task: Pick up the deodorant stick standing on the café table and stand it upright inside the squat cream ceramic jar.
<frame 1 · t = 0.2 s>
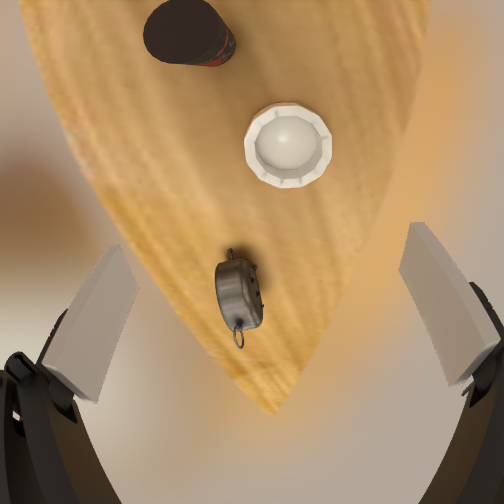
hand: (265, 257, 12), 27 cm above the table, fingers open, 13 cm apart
alarm clock: (244, 266, 48), on the table
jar: (285, 139, 35), on the table
deodorant: (211, 45, 27), on the table
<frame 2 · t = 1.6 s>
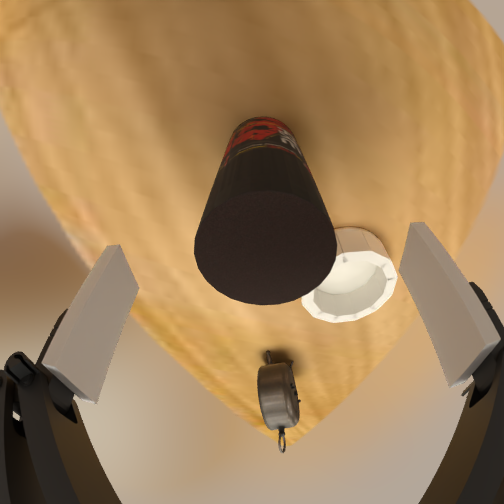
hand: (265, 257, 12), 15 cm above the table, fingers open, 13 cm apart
alarm clock: (280, 361, 45), on the table
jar: (342, 265, 31), on the table
deodorant: (262, 148, 23), on the table
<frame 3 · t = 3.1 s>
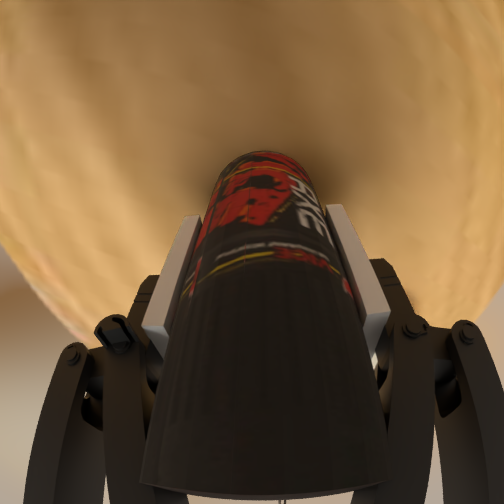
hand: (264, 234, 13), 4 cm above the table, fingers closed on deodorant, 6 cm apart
deodorant: (263, 196, 17), on the table, touching gripper
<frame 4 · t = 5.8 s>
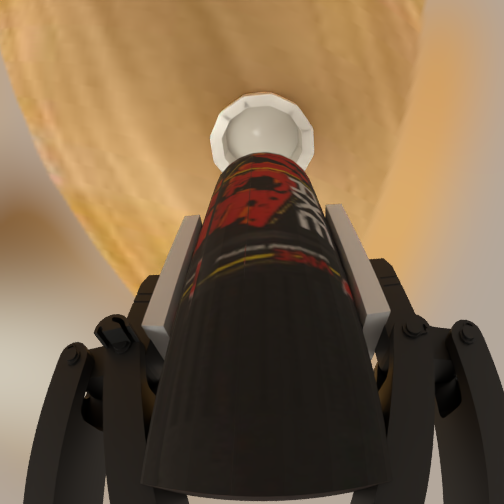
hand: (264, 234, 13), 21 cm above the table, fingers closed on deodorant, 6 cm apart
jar: (262, 135, 30), on the table
deodorant: (263, 197, 17), point 17 cm above the table, touching gripper
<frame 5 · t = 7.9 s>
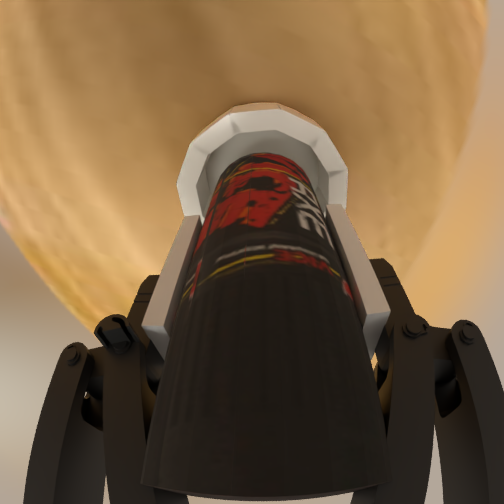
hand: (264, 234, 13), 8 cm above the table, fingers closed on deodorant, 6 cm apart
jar: (262, 170, 20), on the table
deodorant: (263, 198, 17), point 4 cm above the table, touching gripper
when the fingers open (6 cm above the table, at t = 8.8 s): deodorant drops 2 cm, resting on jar.
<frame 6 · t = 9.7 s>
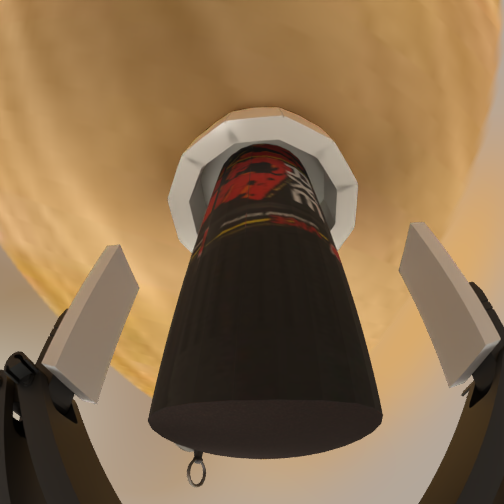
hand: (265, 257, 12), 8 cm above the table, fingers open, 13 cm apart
alarm clock: (211, 355, 32), on the table
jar: (263, 182, 19), on the table
deodorant: (263, 185, 18), point 1 cm above the table, touching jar
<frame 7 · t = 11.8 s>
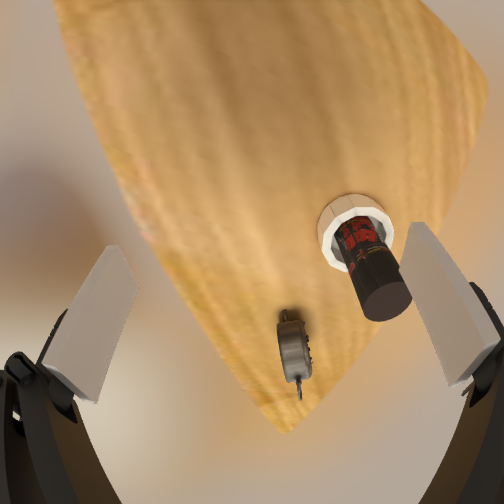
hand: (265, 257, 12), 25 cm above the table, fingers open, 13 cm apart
alarm clock: (292, 322, 52), on the table
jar: (351, 226, 39), on the table
deodorant: (352, 228, 39), point 1 cm above the table, touching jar
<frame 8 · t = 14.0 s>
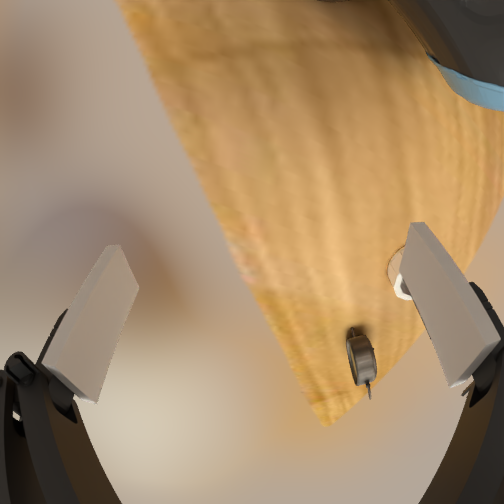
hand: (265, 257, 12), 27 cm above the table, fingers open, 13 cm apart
alarm clock: (356, 336, 59), on the table
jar: (411, 264, 46), on the table
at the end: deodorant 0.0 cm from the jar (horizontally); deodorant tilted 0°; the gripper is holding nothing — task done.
